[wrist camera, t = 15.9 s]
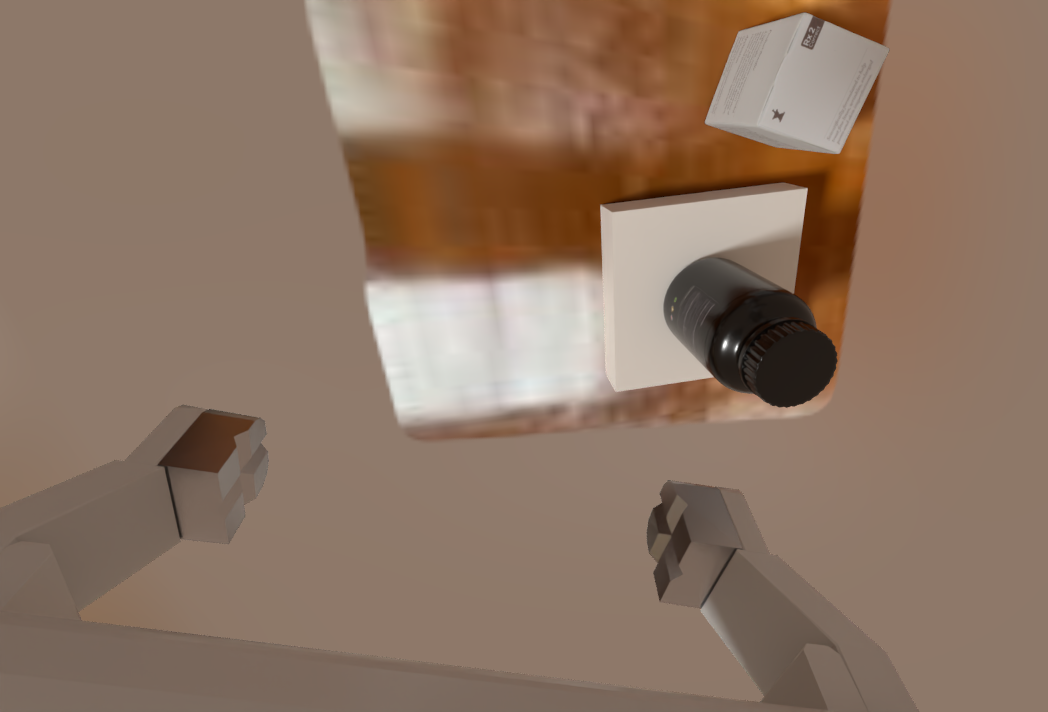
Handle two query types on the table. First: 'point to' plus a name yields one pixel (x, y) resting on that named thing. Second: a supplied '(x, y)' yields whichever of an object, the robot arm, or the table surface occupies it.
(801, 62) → the skincare box
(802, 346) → the supplement bottle
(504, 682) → the robot arm
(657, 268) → the stand
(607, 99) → the table surface
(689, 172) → the table surface
